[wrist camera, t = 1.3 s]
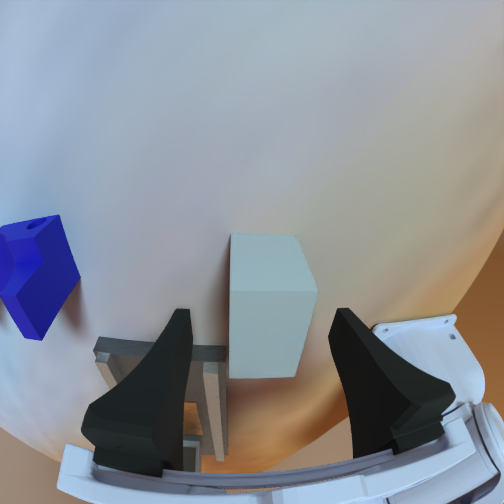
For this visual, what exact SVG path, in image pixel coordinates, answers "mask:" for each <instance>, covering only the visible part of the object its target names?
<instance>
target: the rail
mask: <svg viewBox="0 0 504 504" xmlns="http://www.w3.org/2000/svg"><path fill="white" fill-rule="evenodd" d="M154 344H155V343H152V342H141V341H131V340H122V339H113V338H105V337H99V338H98V340H97V342H96V345H95V347H94V350H93V352H94V354H95V356H96V360H95V363H96V365H97V367H98V369H99V371H100V372H101V374H102V376H103V378H104V380H105V381H106V383H107V385H108V386H109V388H110V390H111V389H112V388H113V387H114V386H116V385H117V384H118V383H119V382H121V381H122V380H123V379H124V378H125V377H126V376H127V375H128V374H129V373H130V372H131V371H132V370H133V369H134V368H135V367H136V366H137V365H138V364H139V363H140V361H141V360H142V359H143V358H144V357H145V355H146V354H147V353H148V352H149V350H150V349H151V348H152V346H153V345H154ZM183 440H185V441H199V442H200V445H201V448H202V454H204V455H216V460H217V461H221V462H224V455H228V433H227V399H226V346H200V345H193V346H192V358H191V364H190V370H189V375H188V381H187V387H186V393H185V401H184V421H183Z"/></svg>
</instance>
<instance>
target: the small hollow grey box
mask: <svg viewBox="0 0 504 504" xmlns="http://www.w3.org/2000/svg"><path fill="white" fill-rule="evenodd" d="M201 457H202V448H201V445H200V442H199V441H185V440H183V464H184V471H185V472H198V473H201Z"/></svg>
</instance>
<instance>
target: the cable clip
mask: <svg viewBox="0 0 504 504" xmlns="http://www.w3.org/2000/svg"><path fill="white" fill-rule="evenodd" d="M79 279H80V274H79V272H78V269H77V266H76V264H75V261H74V258H73V256H72V253H71V250H70V247H69V244H68V241H67V238H66V235H65V232H64V229H63V225H62V222H61V219H60V215H54V216H48V217H43V218H37V219H32V220H27V221H22V222H17V223H13V224H8V225H4V226H2V227H1V228H0V292H1V293H0V297H1V299H2V301H3V303H4V305H5V306H6V308H7V310H8V312H9V314H10V315H11V317H12V319H13V320H14V322H15V324H16V325H17V327H18V328H19V330H20V332H21V333H22V335H23V336H24V338H27V339H33V340H40V341H42V340H43V338H44V336H45V334H46V332H47V331H48V329H49V327H50V325H51V324H52V322H53V320H54V319H55V317H56V315H57V313H58V312H59V310H60V309H61V307H62V305H63V304H64V302H65V300H66V299H67V297H68V296H69V294H70V293H71V291H72V290H73V288H74V286H75V285H76V283H77V282H78V280H79Z"/></svg>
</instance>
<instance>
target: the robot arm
mask: <svg viewBox="0 0 504 504" xmlns="http://www.w3.org/2000/svg"><path fill="white" fill-rule="evenodd" d="M456 319H457V317H456V316H455V315H454V314H452V315H446V316H439V317H433V318H426V319H418V320H410V321H402V322H393V323H384V324H378V325H376V326H375V327H374V328H373V330H372V331H371V330H370V329H369V328H368V327H367V326H366V325H365V324H364V323H363V322H362V321H361V320H360V319H359V318H358V317H357V316H356V315H355V314H354V313H353V312H352V311H351V310H350V309H349V308H337V311H336V314H335V317H334V320H333V323H332V326H331V329H330V332H329V335H328V339H329V344H330V349H331V354H332V357H333V360H334V362H335V365H336V368H337V371H338V374H339V377H340V380H341V383H342V386H343V389H344V392H345V396H346V401H347V406H348V412H349V418H350V424H351V433H352V443H353V459H352V460H347V461H343V462H338V463H333V464H328V465H322V466H316V467H310V468H303V469H296V470H286V471H277V472H262V473H198V472H185V471H184V464H183V421H184V401H185V393H186V387H187V381H188V375H189V370H190V364H191V358H192V346H193V334H192V326H191V318H190V309H176V310H175V311H174V313H173V315H172V317H171V319H170V320H169V322H168V324H167V325H166V327H165V329H164V330H163V332H162V333H161V335H160V336H159V338H158V339H157V341H156V342H155V344H154V345H153V346H152V348H151V349H150V350H149V352H148V353H147V354H146V355H145V357H144V358H143V359H142V360H141V361H140V363H139V364H138V365H137V366H136V367H135V368H134V369H133V370H132V371H131V372H130V373H129V374H128V375H127V376H126V377H125V378H124V379H123V380H122V381H121V382H119V383H118V384H117V385H116V386H114V387H113V388H112V389H111V390H110V391H108V392H107V393H106V394H104V395H103V396H101V397H100V398H98V399H97V400H95V401H94V402H92V403H91V404H89V406H88V409H87V411H86V413H85V416H84V420H83V423H82V427H81V432H82V434H83V435H84V436H85V437H86V438H87V439H88V440H89V441H90V442H91V443H92V444H93V445H94V446H95V451H94V452H93V451H91V450H88V449H86V448H82V447H79V446H76V445H72V444H69V443H66V446H65V450H64V454H63V458H62V463H61V467H60V473H59V477H58V482H57V488H58V489H59V490H62V491H64V492H66V493H68V494H70V495H72V496H75V497H77V498H80V499H82V500H85V501H88V502H91V503H94V504H503V502H504V422H503V420H502V419H501V417H500V415H499V413H498V412H497V410H496V409H495V408H494V406H493V405H492V404H491V403H484V402H481V400H482V397H483V395H484V391H485V379H484V374H483V371H482V368H481V366H480V364H479V363H478V361H477V360H476V358H475V356H474V355H473V354H472V352H471V350H470V349H469V347H468V346H467V344H466V343H465V341H464V340H463V338H462V337H461V335H460V334H459V332H458V331H457V330H456V328H455V327H454V323H455V321H456ZM347 475H349V476H347ZM343 476H345V477H343ZM338 477H341V478H338ZM334 478H336V479H334ZM329 479H331V480H329ZM324 480H326V481H324ZM318 481H321V482H318ZM312 482H315V483H312ZM306 483H309V484H306ZM298 484H303V485H298ZM291 485H295V486H291ZM282 486H289V487H283V488H278V489H273V490H266V491H258V492H246V493H229V494H227V492H226V491H225V490H222V489H256V488H271V487H282Z"/></svg>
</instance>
